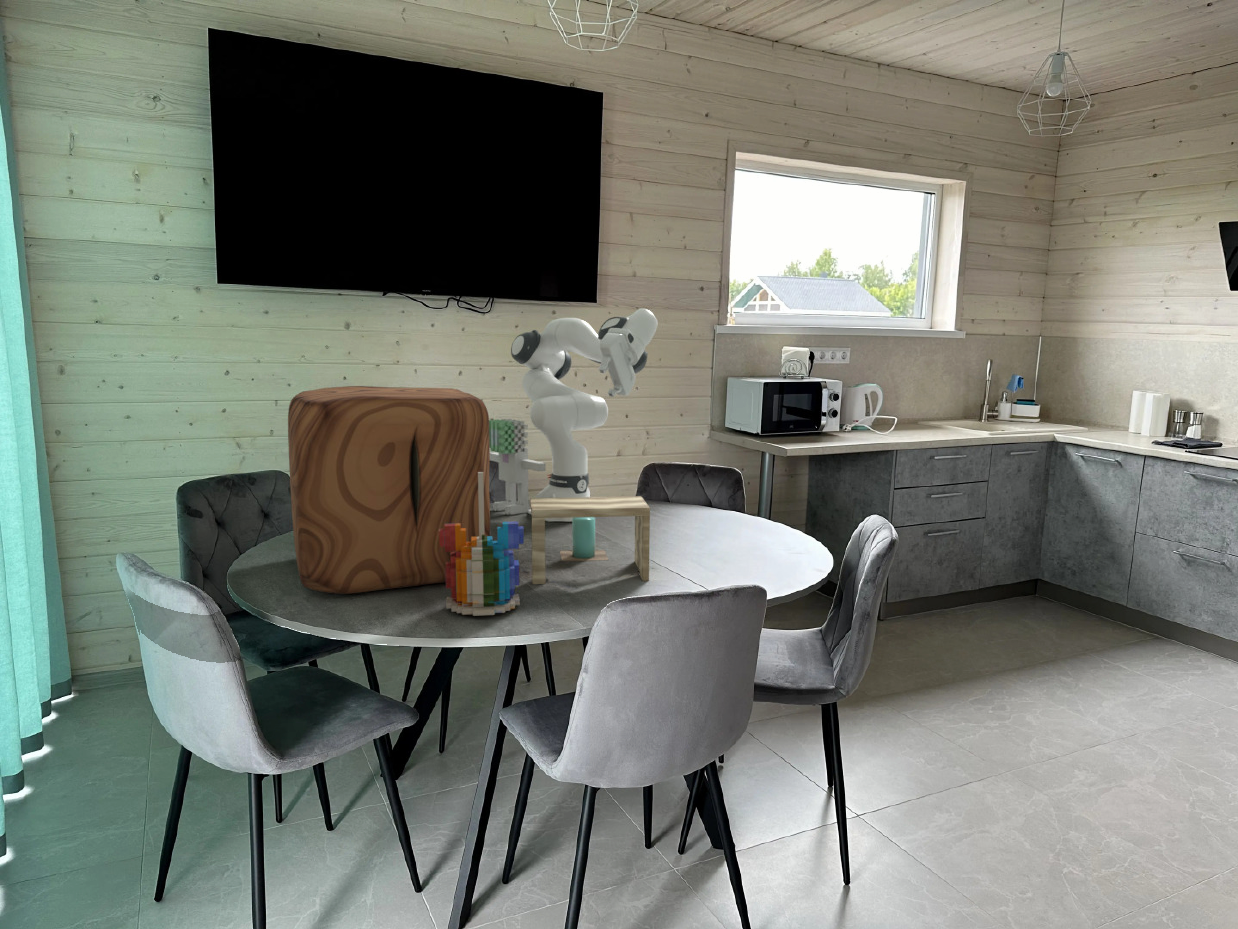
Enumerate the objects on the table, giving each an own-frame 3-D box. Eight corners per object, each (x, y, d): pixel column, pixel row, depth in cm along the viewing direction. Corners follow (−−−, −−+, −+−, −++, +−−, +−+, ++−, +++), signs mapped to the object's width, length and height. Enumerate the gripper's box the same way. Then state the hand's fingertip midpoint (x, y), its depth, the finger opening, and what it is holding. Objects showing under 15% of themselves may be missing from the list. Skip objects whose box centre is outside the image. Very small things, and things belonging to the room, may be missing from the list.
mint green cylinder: (567, 555, 231) (567, 518, 229) (584, 551, 235) (584, 514, 233) (582, 559, 226) (582, 521, 225) (599, 555, 230) (599, 518, 229)
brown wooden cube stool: (292, 555, 232) (283, 385, 225) (460, 541, 249) (456, 382, 242) (299, 605, 191) (288, 399, 184) (499, 584, 208) (496, 395, 201)
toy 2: (471, 506, 296) (468, 418, 291) (496, 502, 302) (494, 416, 298) (519, 521, 273) (518, 425, 269) (546, 517, 279) (545, 423, 275)
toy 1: (440, 622, 181) (436, 479, 177) (442, 599, 197) (439, 467, 192) (526, 618, 184) (525, 477, 180) (522, 595, 200) (520, 465, 195)
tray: (559, 554, 235) (559, 551, 235) (604, 553, 236) (604, 550, 236) (562, 564, 225) (562, 561, 225) (608, 563, 226) (608, 559, 226)
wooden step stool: (530, 568, 222) (530, 498, 219) (640, 564, 225) (641, 496, 223) (532, 584, 208) (531, 510, 205) (648, 580, 212) (649, 507, 209)
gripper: (626, 375, 266) (606, 407, 259) (608, 323, 252) (586, 355, 245) (644, 378, 263) (625, 410, 256) (627, 325, 249) (606, 358, 242)
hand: (606, 383), depth 250 cm, fingers open, 8 cm apart
